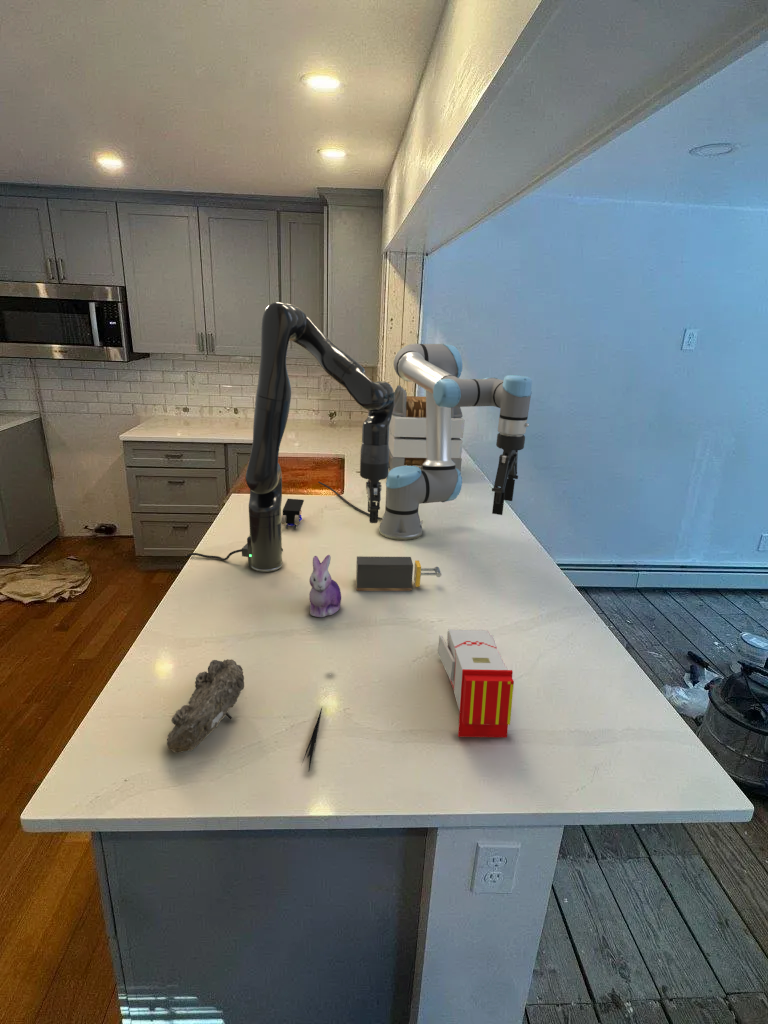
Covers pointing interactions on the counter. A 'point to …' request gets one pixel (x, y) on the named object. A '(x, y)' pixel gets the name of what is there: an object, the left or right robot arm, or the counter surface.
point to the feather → (313, 740)
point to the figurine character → (292, 512)
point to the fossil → (206, 705)
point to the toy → (478, 682)
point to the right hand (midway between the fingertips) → (502, 506)
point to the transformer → (417, 431)
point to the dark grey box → (384, 573)
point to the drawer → (418, 573)
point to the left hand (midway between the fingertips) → (372, 517)
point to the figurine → (323, 590)
